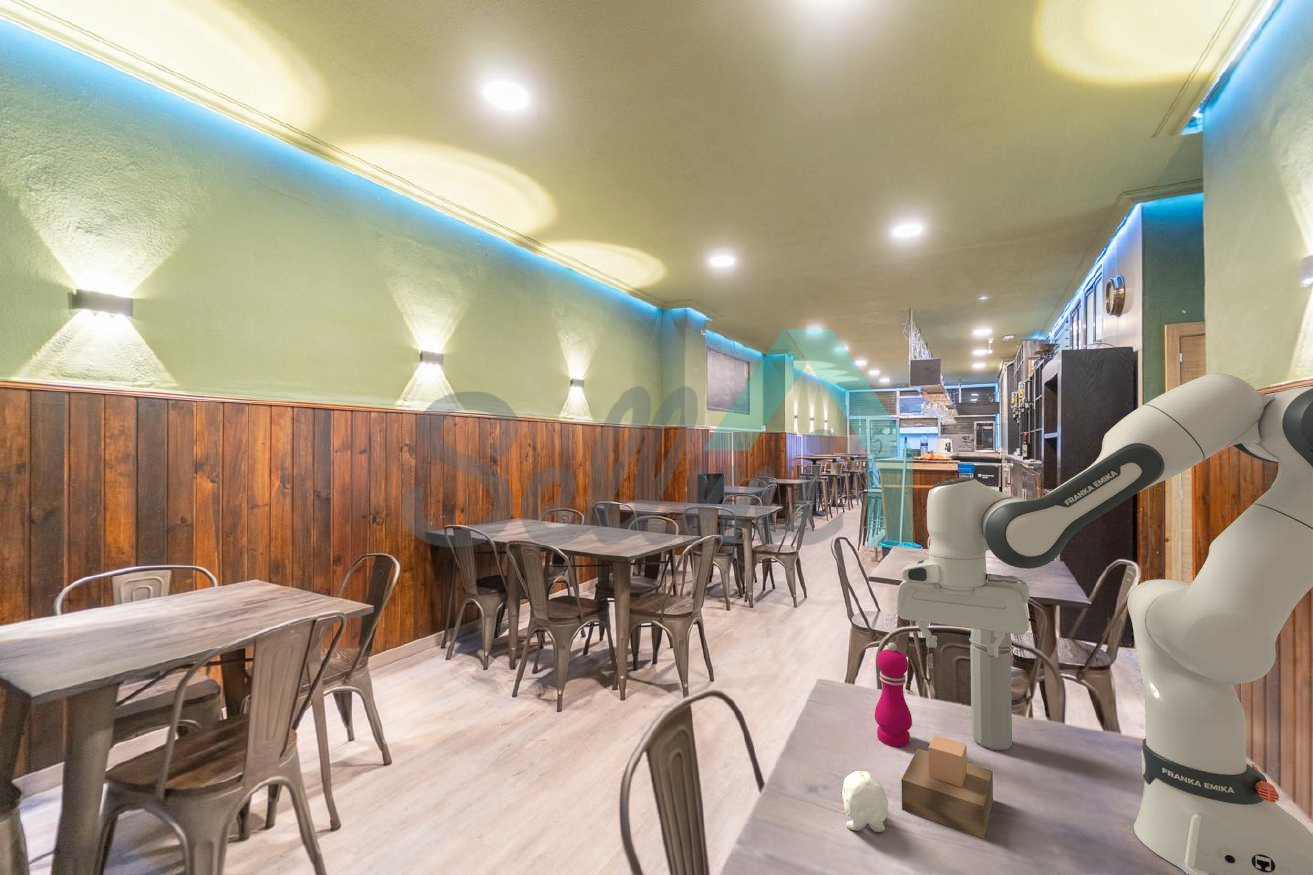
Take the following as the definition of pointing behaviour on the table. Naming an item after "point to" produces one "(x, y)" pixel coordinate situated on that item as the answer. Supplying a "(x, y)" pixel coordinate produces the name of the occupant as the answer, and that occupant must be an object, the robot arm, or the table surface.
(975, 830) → the walnut stand
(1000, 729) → the water bottle
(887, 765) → the table surface
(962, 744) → the terracotta cube
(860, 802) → the penguin figurine
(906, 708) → the pepper mill
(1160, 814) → the robot arm
